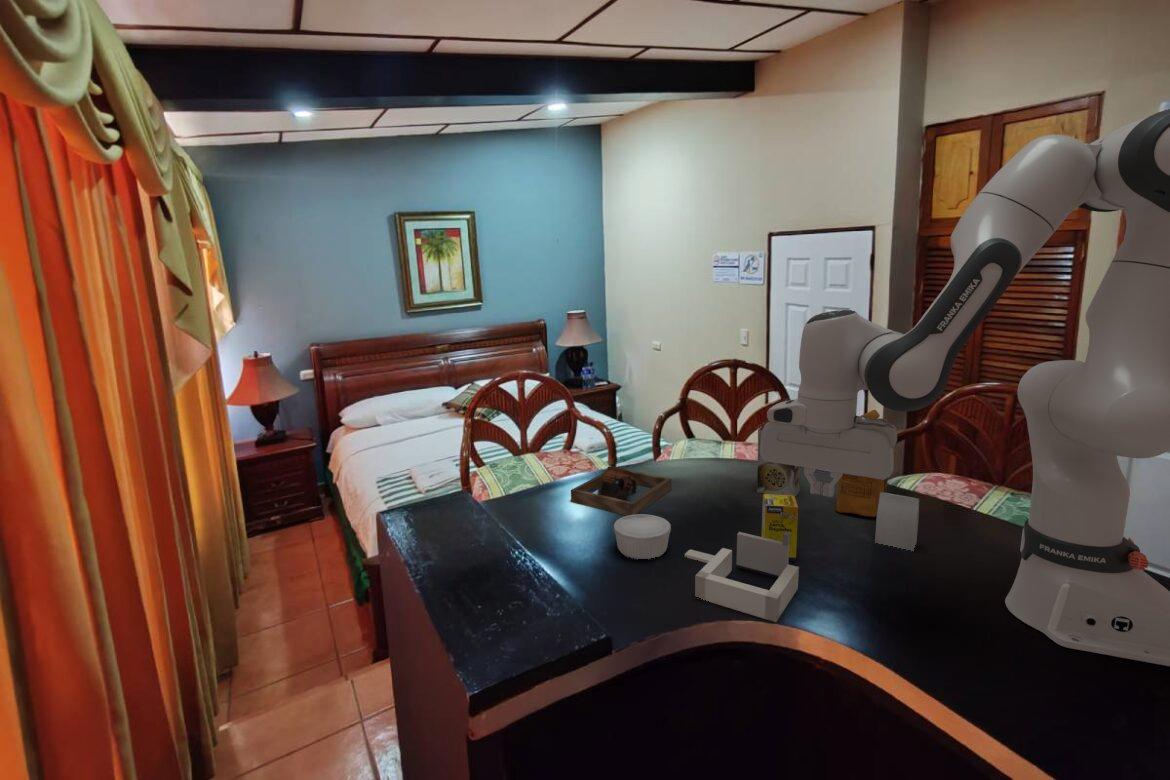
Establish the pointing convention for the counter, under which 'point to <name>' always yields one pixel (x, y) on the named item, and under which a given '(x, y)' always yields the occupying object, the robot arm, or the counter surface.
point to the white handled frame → (742, 587)
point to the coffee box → (776, 475)
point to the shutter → (763, 553)
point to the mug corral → (587, 497)
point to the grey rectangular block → (897, 521)
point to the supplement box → (780, 519)
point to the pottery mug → (621, 488)
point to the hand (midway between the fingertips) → (821, 494)
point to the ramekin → (642, 536)
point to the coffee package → (860, 490)
